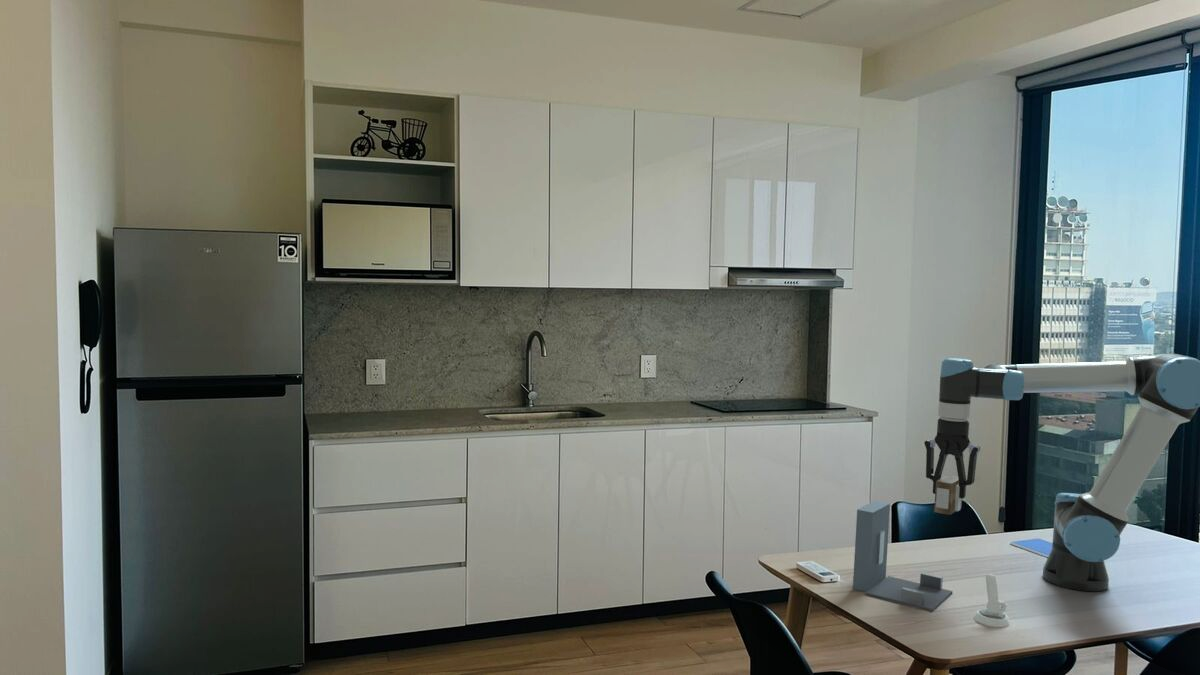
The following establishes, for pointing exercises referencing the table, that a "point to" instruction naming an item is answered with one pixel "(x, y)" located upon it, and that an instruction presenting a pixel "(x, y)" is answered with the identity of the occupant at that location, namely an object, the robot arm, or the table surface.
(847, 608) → the table surface
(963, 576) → the table surface
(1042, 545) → the tablet computer
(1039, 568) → the table surface
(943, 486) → the labeled wooden box
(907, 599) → the slotted tower stand
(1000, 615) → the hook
